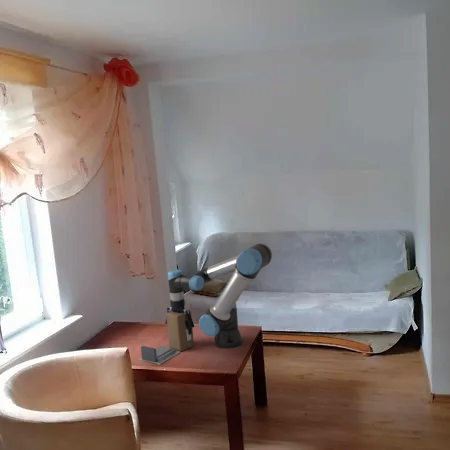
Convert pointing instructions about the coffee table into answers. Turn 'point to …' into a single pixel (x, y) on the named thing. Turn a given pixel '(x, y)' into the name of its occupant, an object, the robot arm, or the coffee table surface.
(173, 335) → the block
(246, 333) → the coffee table surface
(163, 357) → the grey l-shaped piece
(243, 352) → the coffee table surface
